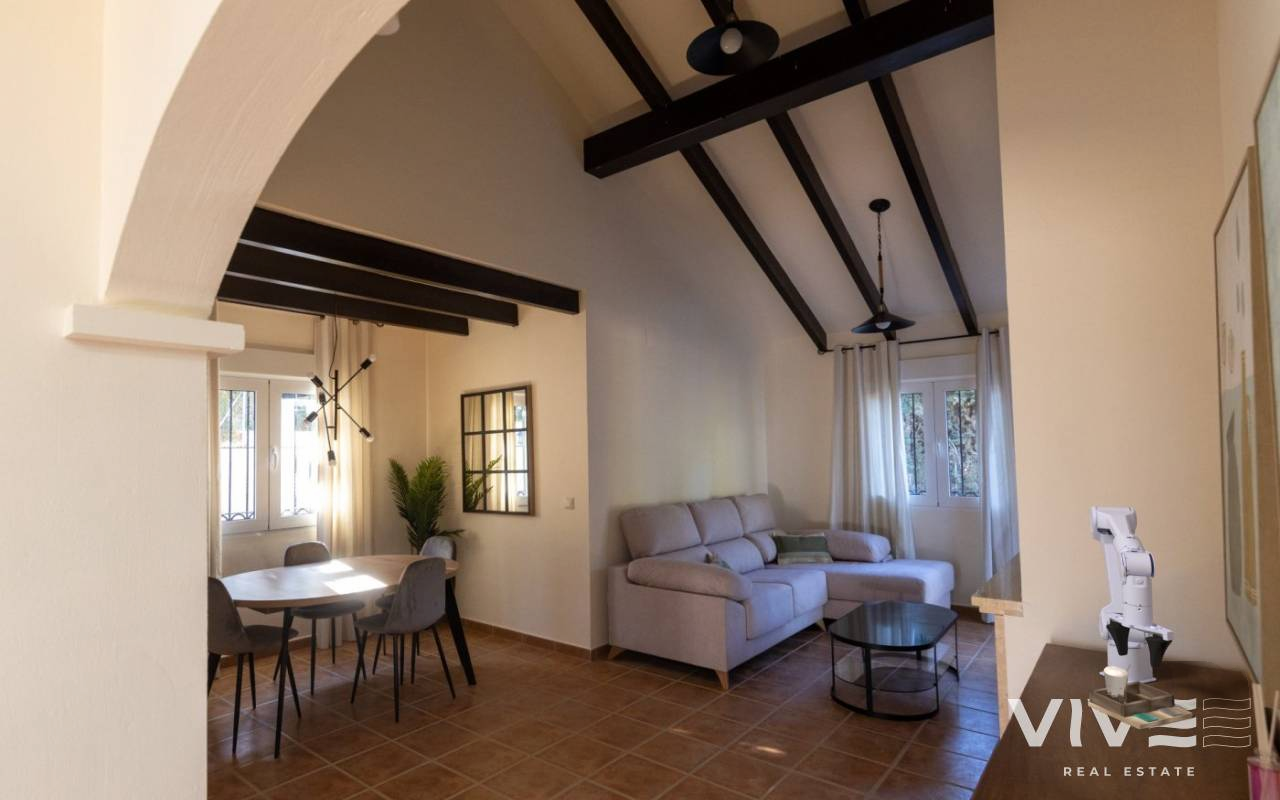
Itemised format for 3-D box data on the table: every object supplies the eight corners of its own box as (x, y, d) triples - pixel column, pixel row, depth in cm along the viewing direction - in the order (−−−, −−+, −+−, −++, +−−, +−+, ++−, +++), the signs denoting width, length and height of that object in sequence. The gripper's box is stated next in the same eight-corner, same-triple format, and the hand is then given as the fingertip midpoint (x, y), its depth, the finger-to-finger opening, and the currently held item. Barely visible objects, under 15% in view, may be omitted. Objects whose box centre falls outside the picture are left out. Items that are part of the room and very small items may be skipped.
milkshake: (1137, 712, 149) (1136, 668, 149) (1111, 711, 150) (1110, 667, 150) (1126, 703, 153) (1124, 660, 153) (1100, 702, 154) (1099, 659, 154)
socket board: (1138, 695, 159) (1137, 680, 159) (1192, 717, 148) (1192, 701, 148) (1088, 705, 155) (1087, 690, 155) (1140, 729, 143) (1139, 713, 143)
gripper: (1095, 596, 161) (1096, 652, 161) (1156, 614, 147) (1158, 675, 147) (1116, 593, 163) (1118, 648, 163) (1179, 610, 149) (1181, 670, 149)
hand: (1139, 660), depth 155 cm, fingers open, 7 cm apart
